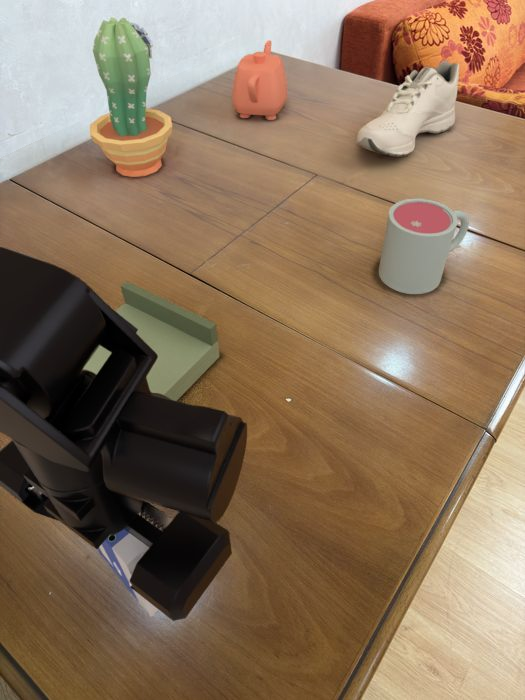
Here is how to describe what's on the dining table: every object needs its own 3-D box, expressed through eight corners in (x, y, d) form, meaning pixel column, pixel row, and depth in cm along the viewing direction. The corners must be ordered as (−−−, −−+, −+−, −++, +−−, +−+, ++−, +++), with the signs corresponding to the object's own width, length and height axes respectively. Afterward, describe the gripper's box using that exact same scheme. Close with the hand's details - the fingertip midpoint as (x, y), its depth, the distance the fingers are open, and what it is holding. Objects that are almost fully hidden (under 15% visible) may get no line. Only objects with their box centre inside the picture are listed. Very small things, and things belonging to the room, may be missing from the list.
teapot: (279, 131, 114) (279, 71, 105) (225, 127, 116) (221, 67, 107) (293, 93, 127) (295, 37, 119) (245, 90, 129) (242, 35, 120)
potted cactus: (189, 173, 102) (171, 26, 84) (110, 193, 98) (73, 42, 80) (163, 140, 112) (142, 2, 94) (90, 157, 107) (52, 15, 89)
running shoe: (337, 159, 105) (343, 90, 96) (414, 108, 121) (426, 44, 111) (386, 177, 100) (398, 106, 90) (460, 122, 115) (477, 56, 106)
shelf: (147, 431, 62) (137, 399, 57) (58, 377, 68) (43, 344, 63) (219, 356, 70) (216, 323, 65) (135, 313, 76) (126, 280, 71)
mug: (402, 301, 76) (415, 243, 69) (366, 265, 82) (375, 208, 75) (478, 274, 80) (498, 216, 73) (439, 241, 86) (454, 185, 79)
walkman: (100, 555, 49) (65, 493, 40) (125, 534, 51) (96, 469, 42) (152, 620, 45) (126, 567, 37) (178, 596, 47) (159, 539, 38)
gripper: (276, 429, 34) (275, 534, 46) (73, 319, 41) (116, 433, 53) (159, 577, 28) (192, 656, 39) (-55, 417, 35) (25, 523, 47)
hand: (128, 552), depth 45 cm, fingers closed on walkman, 8 cm apart
